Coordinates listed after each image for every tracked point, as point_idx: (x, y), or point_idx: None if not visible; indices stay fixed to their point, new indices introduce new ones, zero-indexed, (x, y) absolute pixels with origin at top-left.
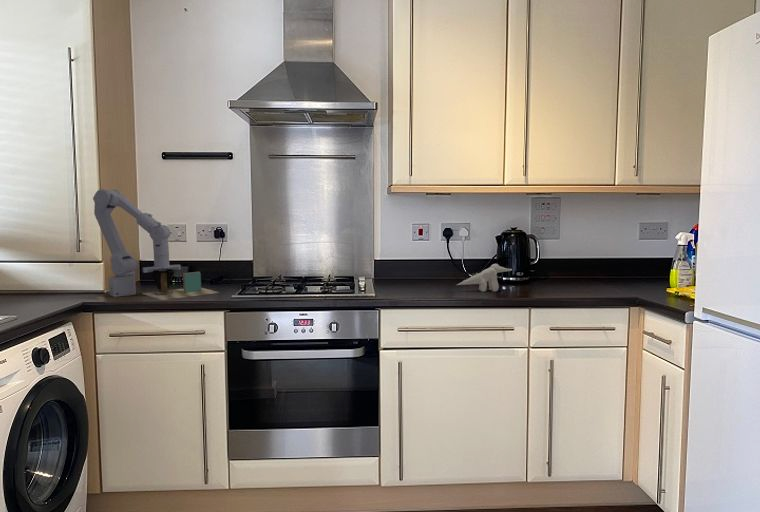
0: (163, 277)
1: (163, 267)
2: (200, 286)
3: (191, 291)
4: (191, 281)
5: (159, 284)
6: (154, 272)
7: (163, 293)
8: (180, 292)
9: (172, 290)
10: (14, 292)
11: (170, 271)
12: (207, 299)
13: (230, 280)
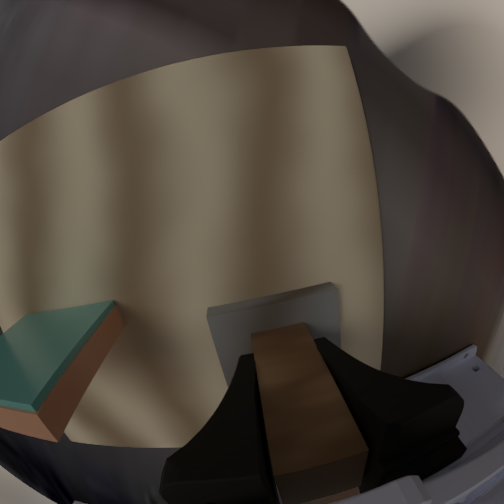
0: (311, 423)
1: (424, 497)
2: (13, 326)
3: (73, 307)
4: (30, 347)
5: (341, 354)
6: (449, 437)
7: (291, 295)
8: (148, 331)
9: (197, 429)
10: None
11: (217, 479)
12: (54, 33)
13: (21, 474)
